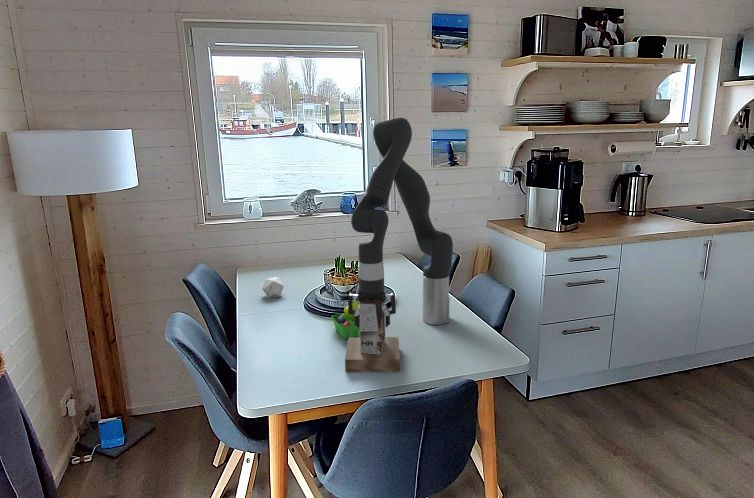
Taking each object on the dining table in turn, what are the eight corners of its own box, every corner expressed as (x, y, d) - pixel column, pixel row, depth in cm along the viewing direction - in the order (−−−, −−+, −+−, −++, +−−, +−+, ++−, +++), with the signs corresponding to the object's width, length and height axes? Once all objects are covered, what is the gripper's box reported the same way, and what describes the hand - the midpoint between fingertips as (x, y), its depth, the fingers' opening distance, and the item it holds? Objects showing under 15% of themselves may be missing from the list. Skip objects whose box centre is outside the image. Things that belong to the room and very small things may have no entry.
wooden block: (398, 348, 164) (398, 337, 163) (399, 371, 150) (399, 359, 148) (349, 348, 164) (348, 337, 163) (345, 371, 150) (345, 359, 149)
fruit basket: (331, 328, 180) (329, 299, 177) (354, 324, 183) (353, 295, 180) (342, 341, 170) (340, 310, 167) (366, 336, 173) (365, 305, 170)
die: (259, 298, 213) (259, 284, 206) (268, 282, 219) (269, 269, 211) (276, 305, 212) (278, 292, 205) (285, 290, 218) (287, 276, 211)
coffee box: (381, 355, 151) (380, 304, 147) (359, 353, 152) (358, 303, 148) (386, 341, 160) (385, 293, 156) (366, 340, 161) (364, 292, 157)
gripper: (395, 271, 153) (395, 321, 158) (348, 271, 154) (349, 321, 158) (395, 279, 146) (396, 331, 150) (346, 279, 146) (348, 331, 151)
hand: (372, 326), depth 154 cm, fingers open, 8 cm apart
